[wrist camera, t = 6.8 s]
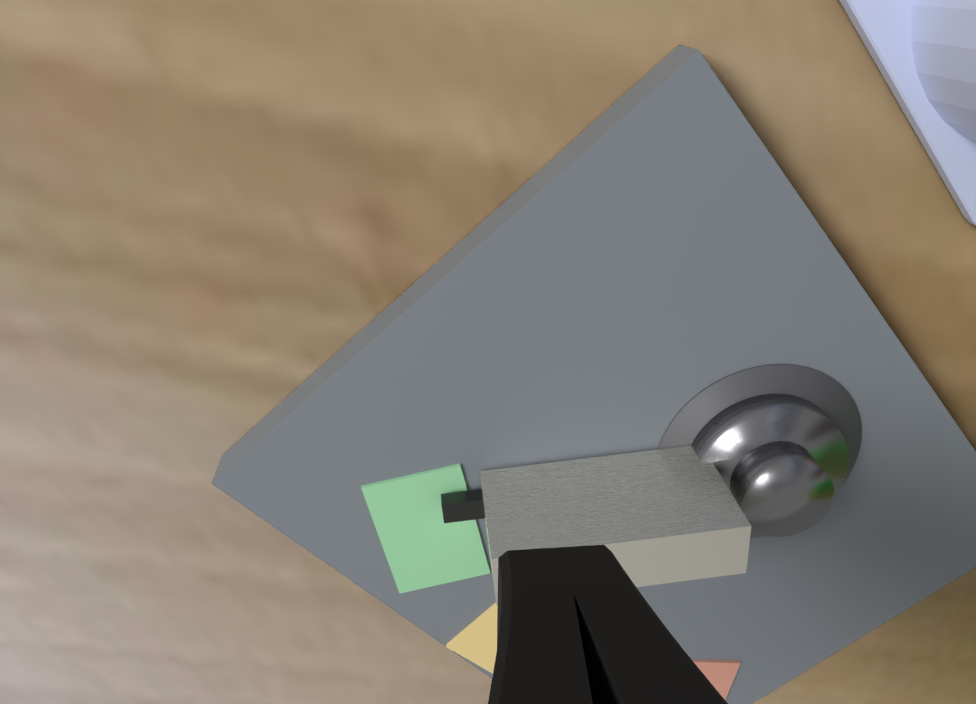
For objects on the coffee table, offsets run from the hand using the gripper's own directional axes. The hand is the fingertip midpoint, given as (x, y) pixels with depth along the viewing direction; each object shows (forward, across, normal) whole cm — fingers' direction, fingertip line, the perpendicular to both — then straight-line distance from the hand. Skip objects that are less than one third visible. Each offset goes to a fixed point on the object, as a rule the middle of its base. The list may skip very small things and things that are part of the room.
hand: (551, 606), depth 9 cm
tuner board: (+10, -5, +6) cm, 12 cm away
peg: (+9, -4, +5) cm, 11 cm away
